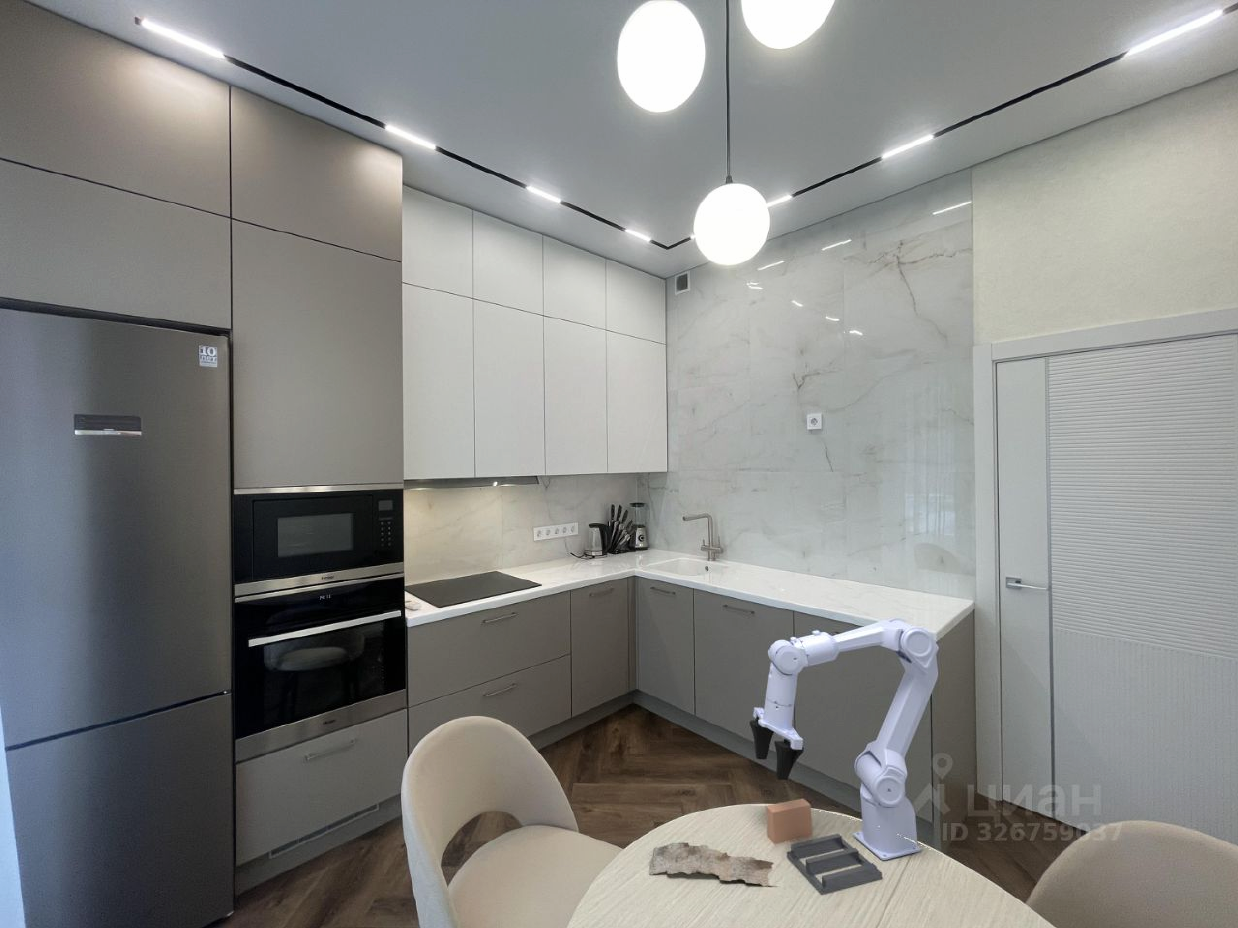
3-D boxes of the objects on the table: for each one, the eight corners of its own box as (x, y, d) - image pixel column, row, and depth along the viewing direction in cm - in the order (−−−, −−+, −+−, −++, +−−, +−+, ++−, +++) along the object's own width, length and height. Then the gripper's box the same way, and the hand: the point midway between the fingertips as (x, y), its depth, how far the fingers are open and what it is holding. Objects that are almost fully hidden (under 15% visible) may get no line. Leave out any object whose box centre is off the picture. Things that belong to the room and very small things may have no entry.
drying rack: (843, 844, 99) (842, 832, 99) (882, 878, 89) (881, 865, 90) (787, 857, 95) (786, 845, 96) (821, 894, 86) (820, 880, 86)
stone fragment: (647, 856, 98) (649, 894, 88) (646, 841, 98) (649, 876, 88) (774, 853, 98) (791, 890, 88) (773, 837, 98) (790, 873, 88)
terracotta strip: (804, 828, 104) (803, 798, 105) (812, 835, 102) (810, 804, 103) (767, 836, 102) (765, 805, 102) (774, 844, 99) (772, 812, 100)
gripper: (744, 686, 109) (736, 749, 108) (784, 714, 95) (774, 788, 94) (772, 688, 111) (764, 750, 110) (814, 716, 97) (806, 788, 96)
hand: (771, 768), depth 102 cm, fingers open, 7 cm apart
